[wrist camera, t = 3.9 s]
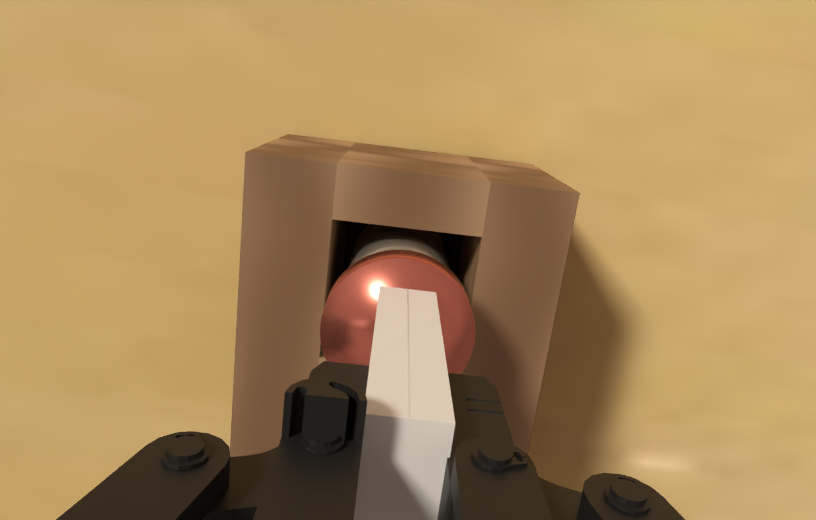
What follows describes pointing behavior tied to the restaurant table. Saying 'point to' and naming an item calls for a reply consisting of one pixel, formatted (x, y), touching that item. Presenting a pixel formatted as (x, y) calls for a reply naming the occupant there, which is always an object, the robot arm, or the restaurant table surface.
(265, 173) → the block
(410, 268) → the plug red
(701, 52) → the restaurant table surface
